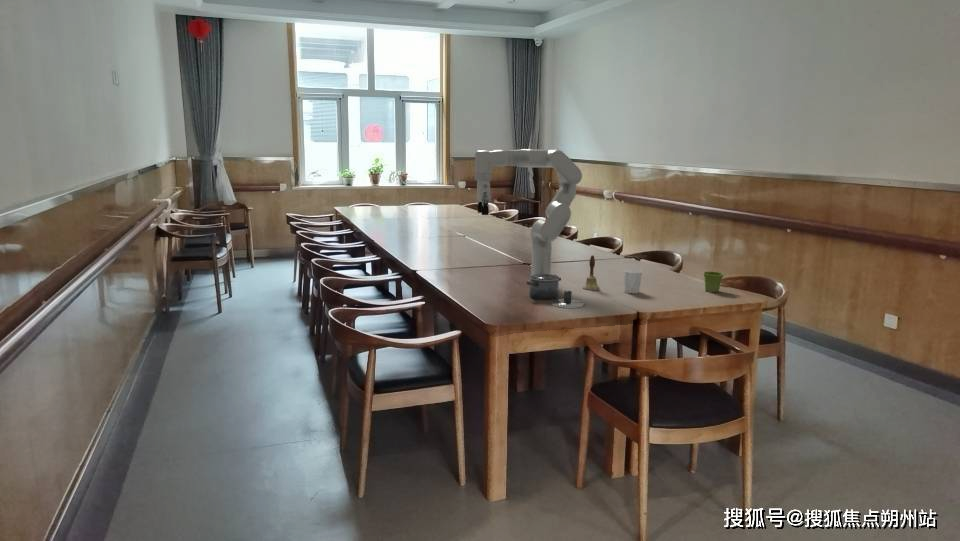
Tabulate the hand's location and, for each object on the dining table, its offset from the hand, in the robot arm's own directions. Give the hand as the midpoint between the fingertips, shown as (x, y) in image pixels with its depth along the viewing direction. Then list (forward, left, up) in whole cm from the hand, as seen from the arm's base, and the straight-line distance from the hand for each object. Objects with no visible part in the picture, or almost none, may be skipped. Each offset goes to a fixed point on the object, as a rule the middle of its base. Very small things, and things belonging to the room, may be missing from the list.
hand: (482, 213), depth 304 cm
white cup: (-47, +53, -36) cm, 79 cm away
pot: (-8, +33, -35) cm, 49 cm away
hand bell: (-38, +36, -36) cm, 63 cm away
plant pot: (-79, +76, -35) cm, 115 cm away
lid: (-6, +49, -36) cm, 61 cm away
